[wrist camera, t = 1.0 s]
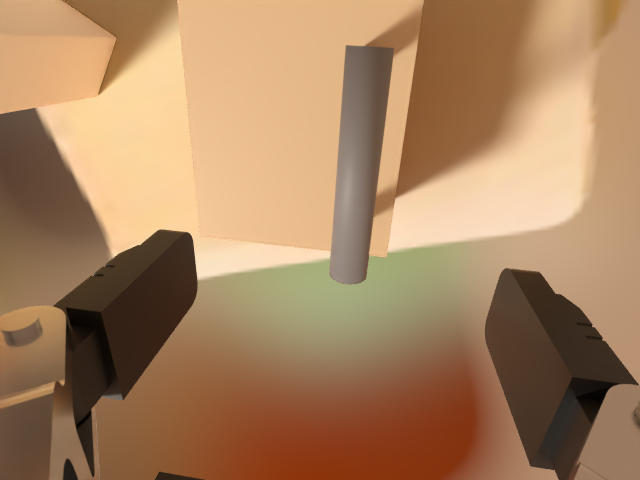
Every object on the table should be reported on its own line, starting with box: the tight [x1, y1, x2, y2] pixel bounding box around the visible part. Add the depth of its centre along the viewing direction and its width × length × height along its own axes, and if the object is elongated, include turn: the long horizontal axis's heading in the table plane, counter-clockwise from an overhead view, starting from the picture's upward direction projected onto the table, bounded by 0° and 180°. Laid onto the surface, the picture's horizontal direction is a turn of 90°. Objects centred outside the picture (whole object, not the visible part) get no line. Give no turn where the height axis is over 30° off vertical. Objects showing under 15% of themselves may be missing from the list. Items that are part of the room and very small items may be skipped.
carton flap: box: [177, 0, 424, 284], centre depth 22 cm, size 16×14×9 cm
